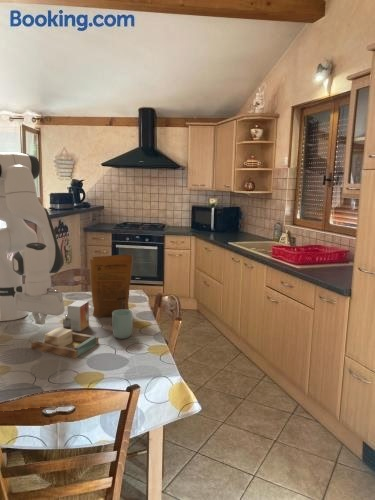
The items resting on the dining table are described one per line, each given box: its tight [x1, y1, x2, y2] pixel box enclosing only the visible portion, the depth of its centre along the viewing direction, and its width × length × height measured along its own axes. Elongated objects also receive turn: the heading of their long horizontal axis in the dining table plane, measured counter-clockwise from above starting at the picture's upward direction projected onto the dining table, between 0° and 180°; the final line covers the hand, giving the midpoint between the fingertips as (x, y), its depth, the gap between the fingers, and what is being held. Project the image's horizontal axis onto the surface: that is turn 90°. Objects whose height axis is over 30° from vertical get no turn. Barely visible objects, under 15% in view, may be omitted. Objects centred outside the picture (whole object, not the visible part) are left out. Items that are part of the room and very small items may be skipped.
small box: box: [67, 300, 90, 333], centre depth 161 cm, size 8×6×10 cm
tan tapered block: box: [43, 327, 73, 347], centre depth 144 cm, size 6×8×5 cm
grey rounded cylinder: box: [62, 313, 74, 332], centre depth 154 cm, size 3×3×8 cm
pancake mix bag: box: [88, 254, 134, 318], centre depth 175 cm, size 7×19×28 cm, turn 105°
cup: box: [111, 309, 134, 340], centre depth 153 cm, size 8×8×10 cm
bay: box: [30, 331, 99, 359], centre depth 143 cm, size 19×14×3 cm
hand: (40, 323), depth 146 cm, fingers closed
